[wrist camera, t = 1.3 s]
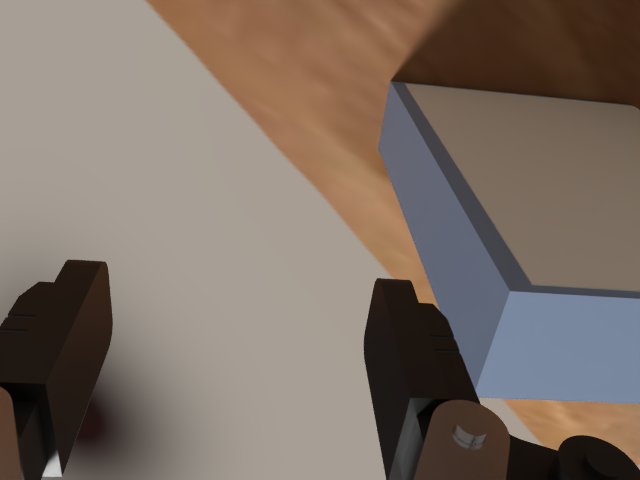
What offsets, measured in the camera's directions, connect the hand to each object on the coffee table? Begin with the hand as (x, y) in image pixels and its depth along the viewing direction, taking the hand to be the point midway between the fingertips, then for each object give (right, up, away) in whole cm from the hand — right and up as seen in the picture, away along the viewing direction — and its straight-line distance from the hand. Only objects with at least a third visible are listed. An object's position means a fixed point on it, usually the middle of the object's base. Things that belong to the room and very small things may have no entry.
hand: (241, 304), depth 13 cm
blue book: (+14, +9, +26) cm, 30 cm away
